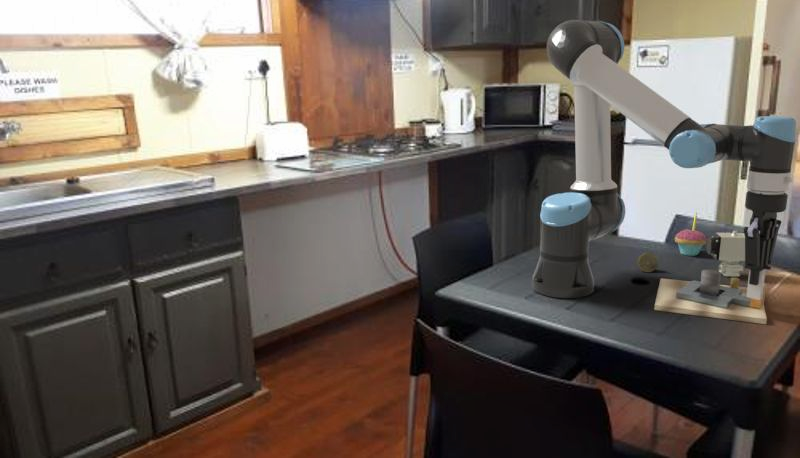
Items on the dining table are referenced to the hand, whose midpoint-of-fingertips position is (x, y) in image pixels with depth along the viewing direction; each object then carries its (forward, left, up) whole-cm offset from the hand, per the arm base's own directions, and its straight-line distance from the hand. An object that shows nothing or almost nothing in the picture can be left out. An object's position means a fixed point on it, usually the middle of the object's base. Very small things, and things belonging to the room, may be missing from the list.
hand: (754, 297), depth 135 cm
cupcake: (-14, +45, -4) cm, 47 cm away
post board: (-9, +5, -4) cm, 11 cm away
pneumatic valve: (-4, +28, -4) cm, 29 cm away
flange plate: (-6, +4, -3) cm, 8 cm away
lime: (-24, +24, -4) cm, 34 cm away
